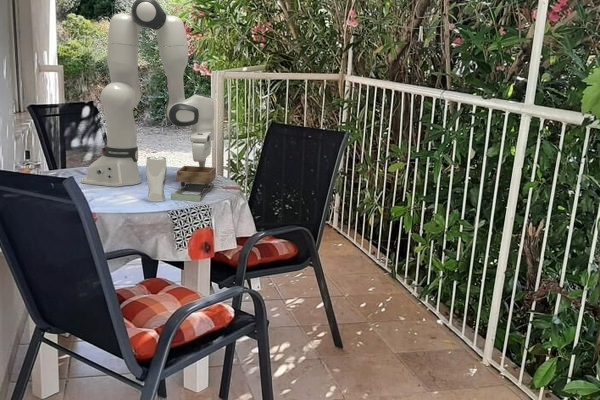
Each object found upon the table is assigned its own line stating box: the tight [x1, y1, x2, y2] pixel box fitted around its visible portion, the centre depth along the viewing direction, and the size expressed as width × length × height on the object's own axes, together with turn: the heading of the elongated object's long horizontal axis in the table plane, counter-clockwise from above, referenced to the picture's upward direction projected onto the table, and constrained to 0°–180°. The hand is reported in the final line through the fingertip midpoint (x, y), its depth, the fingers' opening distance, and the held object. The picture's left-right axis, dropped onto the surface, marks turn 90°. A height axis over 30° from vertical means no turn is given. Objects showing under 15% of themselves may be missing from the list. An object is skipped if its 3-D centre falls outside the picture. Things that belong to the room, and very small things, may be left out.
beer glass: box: [145, 155, 167, 203], centre depth 211 cm, size 7×7×15 cm
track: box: [170, 182, 214, 202], centre depth 228 cm, size 11×27×2 cm, turn 178°
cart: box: [176, 165, 217, 188], centre depth 233 cm, size 13×13×6 cm
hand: (202, 169), depth 244 cm, fingers closed
